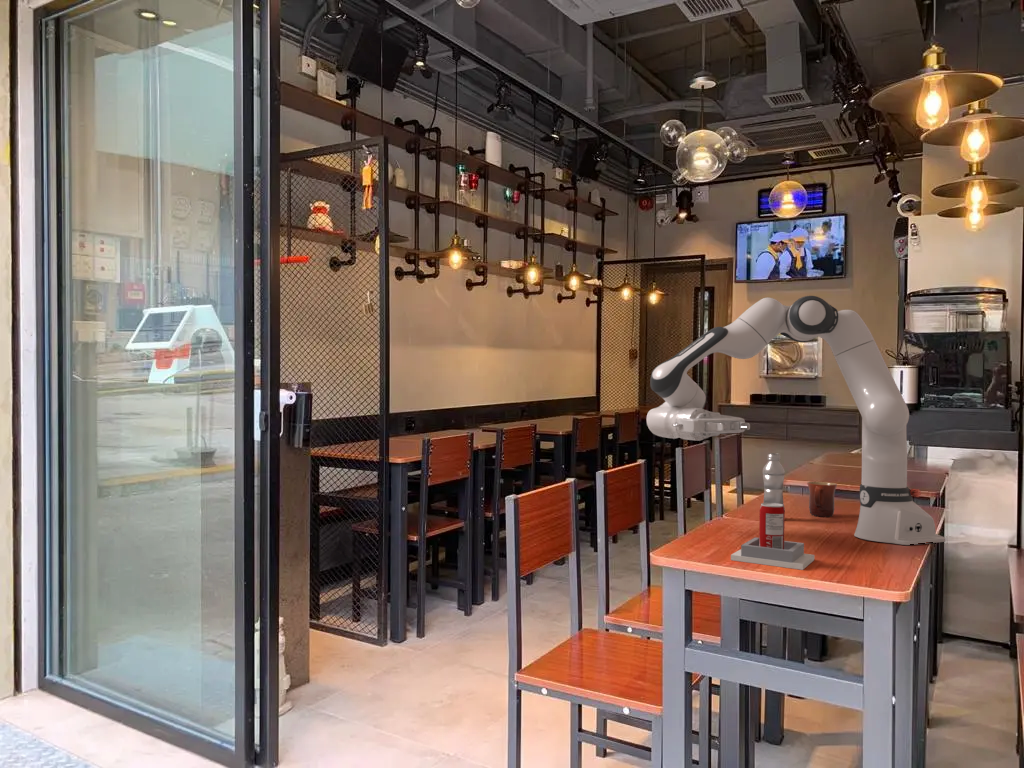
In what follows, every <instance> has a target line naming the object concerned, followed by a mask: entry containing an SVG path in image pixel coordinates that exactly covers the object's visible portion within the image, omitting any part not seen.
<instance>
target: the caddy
mask: <svg viewBox="0 0 1024 768" xmlns="http://www.w3.org/2000/svg"><path fill="white" fill-rule="evenodd" d="M740 548H741V549H739V550H737V551H735V552H733V553H732V554H730V561H734V562H742V563H743V562H744V563H749V564H756V565H757V564H758V565H764V566H765V565H766V566H772V567H780V568H787V569H794V570H801V571H803V570H805V568H807V567H808V566H810V564H812V563H813V562H814V561H815V554H810V553H805V542H798V541H797V542H796V541H789V540H784V549H777V548H769V547H761V546H759V537H753V538H751V539H749V540H747V541H746V542H745V543H743V544H741V546H740Z"/></svg>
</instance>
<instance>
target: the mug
mask: <svg viewBox="0 0 1024 768" xmlns="http://www.w3.org/2000/svg"><path fill="white" fill-rule="evenodd" d="M806 484H807V487H808V491H809V500H808V501H809V502H808V503H809V504H808V509H809V514H810V515H811V516H813V515H814V516H813V517H817V516H819V518H831V517H833V516H834V512H835V494H836V493H835V492H836V488H837V486H838V484H837V483H835V482H829V481H828V482H827V481H807V483H806ZM830 516H831V517H830Z"/></svg>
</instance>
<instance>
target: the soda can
mask: <svg viewBox="0 0 1024 768" xmlns="http://www.w3.org/2000/svg"><path fill="white" fill-rule="evenodd" d="M784 508H785V506H784V507H783V505H782V504H778V503H764V502H762V503H761V504H760V507H759V521H758V522H759V529H758V530H759V531H758V532H759V533H758V538H759V546H761V547H769V548H777V549H784V541H785V523H786V521H785V518H786V517H785V513H786V512H785V511H786V510H785V511H784Z"/></svg>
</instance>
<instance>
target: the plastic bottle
mask: <svg viewBox="0 0 1024 768" xmlns="http://www.w3.org/2000/svg"><path fill="white" fill-rule="evenodd" d="M766 460H767V462H766V464H765V465H763V468H762V479H763V488H764V489H763V491H764V492H763V493H764V494H763V503H778V504H782V505H783V507H784V511H786V509H785V504H784V493H783V492H784V490H783V489H784V480H785V473H786V471H785V468H784V466H783V465H782V463H781V462H780V461H781V453H776V452H775V453H772V452H771V453H767V458H766Z"/></svg>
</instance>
